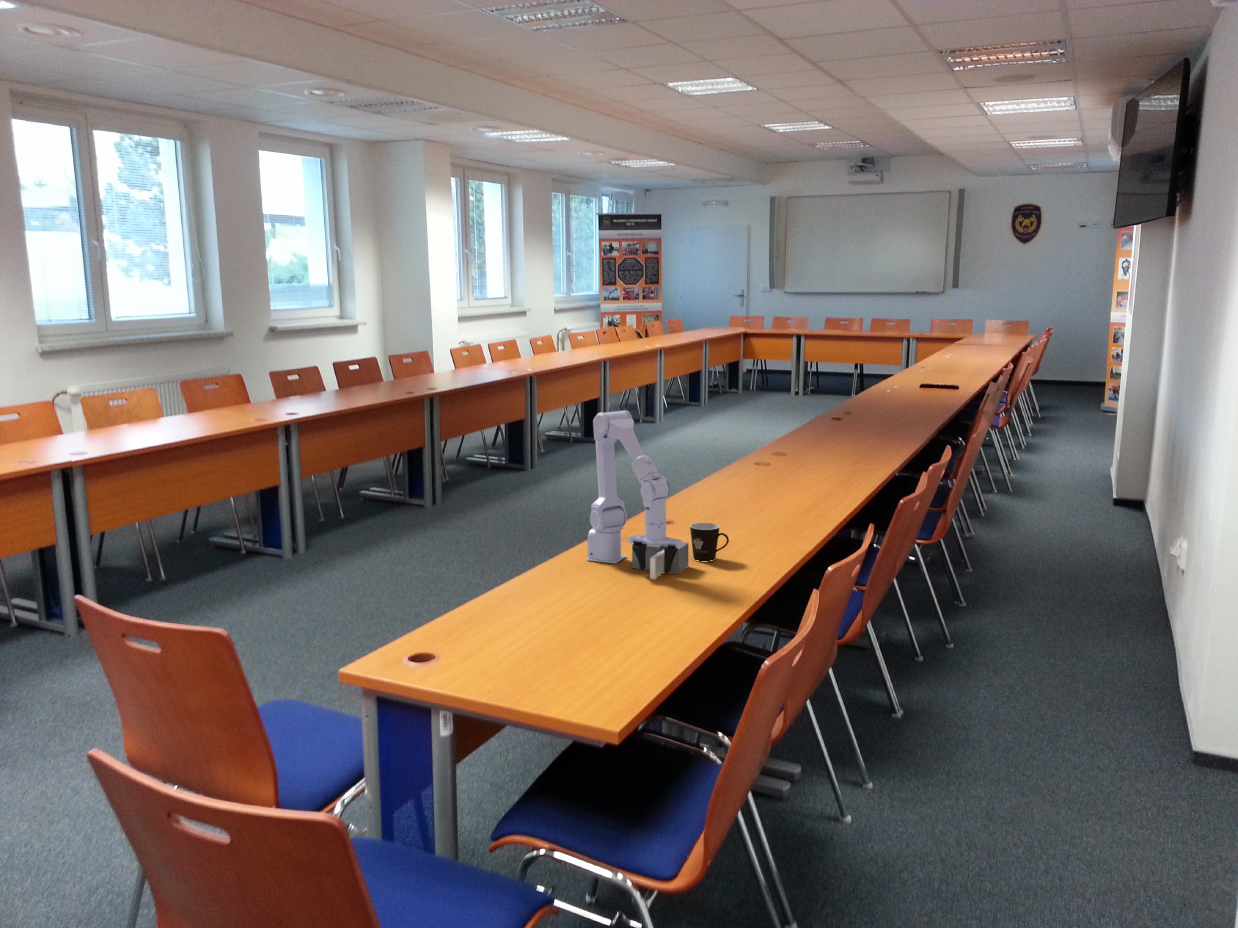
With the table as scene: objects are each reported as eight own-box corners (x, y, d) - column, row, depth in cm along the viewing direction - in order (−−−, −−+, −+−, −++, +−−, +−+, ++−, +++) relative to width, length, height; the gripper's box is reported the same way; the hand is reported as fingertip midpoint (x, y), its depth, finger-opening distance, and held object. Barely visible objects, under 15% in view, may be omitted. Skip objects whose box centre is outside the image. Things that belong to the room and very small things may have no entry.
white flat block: (650, 579, 254) (650, 557, 253) (663, 569, 263) (663, 548, 262) (655, 579, 253) (655, 558, 252) (668, 569, 262) (668, 549, 261)
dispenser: (631, 569, 263) (631, 545, 262) (642, 561, 271) (642, 537, 270) (677, 574, 257) (678, 550, 256) (688, 566, 265) (688, 542, 264)
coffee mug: (684, 557, 274) (684, 524, 273) (708, 553, 278) (709, 521, 276) (705, 567, 264) (705, 533, 262) (730, 563, 268) (731, 529, 266)
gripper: (625, 523, 252) (625, 571, 254) (675, 528, 246) (675, 577, 249) (635, 517, 258) (635, 564, 261) (684, 522, 253) (684, 570, 255)
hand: (655, 570), depth 255 cm, fingers open, 7 cm apart
